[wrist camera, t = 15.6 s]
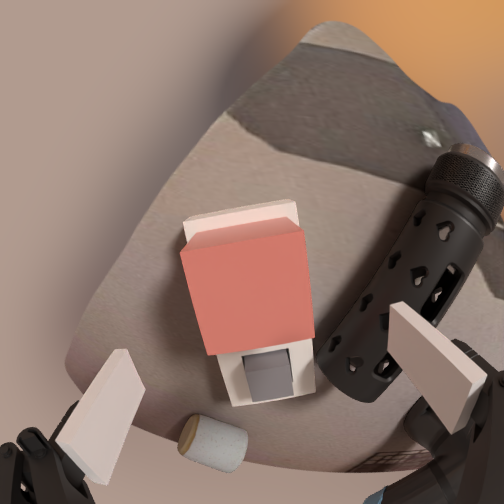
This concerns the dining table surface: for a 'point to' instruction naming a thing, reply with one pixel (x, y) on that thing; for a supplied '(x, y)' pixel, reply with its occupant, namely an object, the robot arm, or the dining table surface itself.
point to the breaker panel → (235, 361)
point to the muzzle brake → (418, 269)
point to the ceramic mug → (213, 443)
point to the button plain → (268, 375)
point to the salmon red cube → (250, 285)
